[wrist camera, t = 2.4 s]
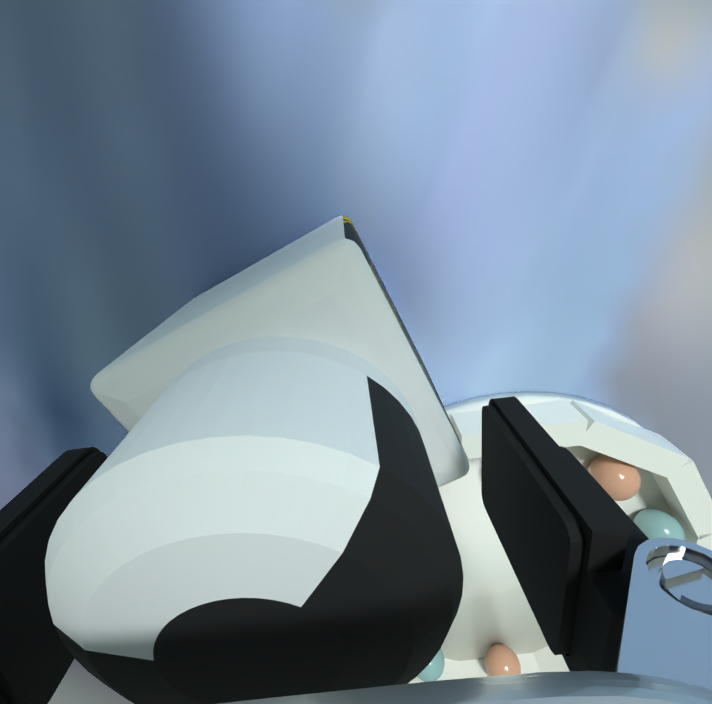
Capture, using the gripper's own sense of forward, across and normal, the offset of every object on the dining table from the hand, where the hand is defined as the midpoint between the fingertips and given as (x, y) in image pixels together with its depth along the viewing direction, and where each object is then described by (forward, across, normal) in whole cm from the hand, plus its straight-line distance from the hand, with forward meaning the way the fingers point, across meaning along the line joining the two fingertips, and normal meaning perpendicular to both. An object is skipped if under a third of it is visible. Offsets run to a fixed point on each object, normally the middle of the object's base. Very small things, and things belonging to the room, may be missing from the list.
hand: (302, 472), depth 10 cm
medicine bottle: (+8, 0, -1) cm, 8 cm away
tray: (+8, -8, +13) cm, 17 cm away
